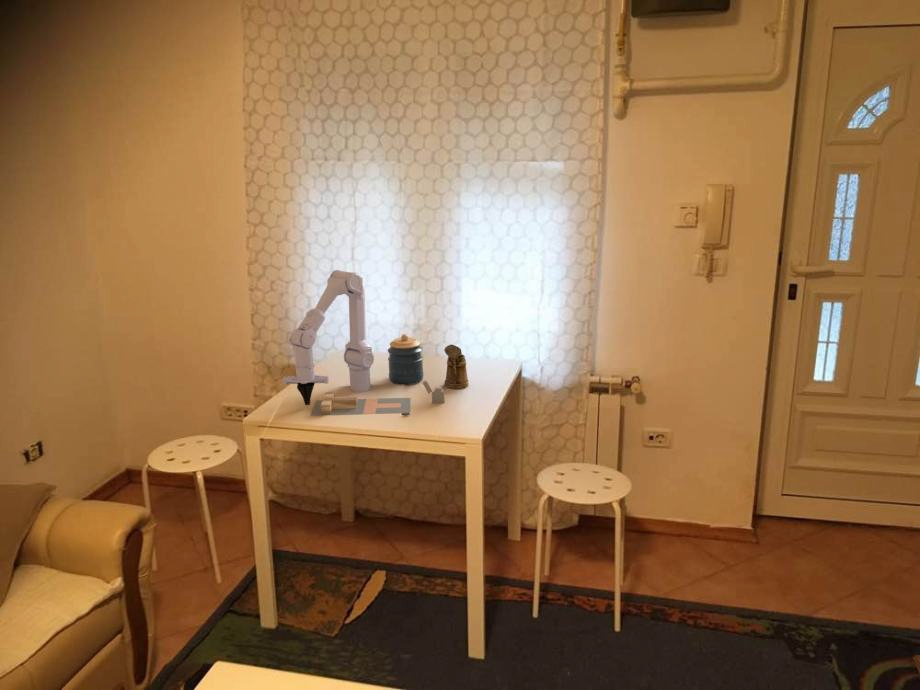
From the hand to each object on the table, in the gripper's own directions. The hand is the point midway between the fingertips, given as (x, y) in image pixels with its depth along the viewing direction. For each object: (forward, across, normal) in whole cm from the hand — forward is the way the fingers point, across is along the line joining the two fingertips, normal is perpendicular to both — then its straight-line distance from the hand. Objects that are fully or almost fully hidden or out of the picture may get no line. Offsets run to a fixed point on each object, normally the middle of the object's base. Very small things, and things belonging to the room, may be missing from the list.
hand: (307, 404), depth 229 cm
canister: (+3, +32, +29) cm, 43 cm away
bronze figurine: (+3, +50, +19) cm, 53 cm away
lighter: (+3, +42, +4) cm, 42 cm away
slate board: (+2, +18, 0) cm, 18 cm away
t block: (+1, +11, 0) cm, 11 cm away
